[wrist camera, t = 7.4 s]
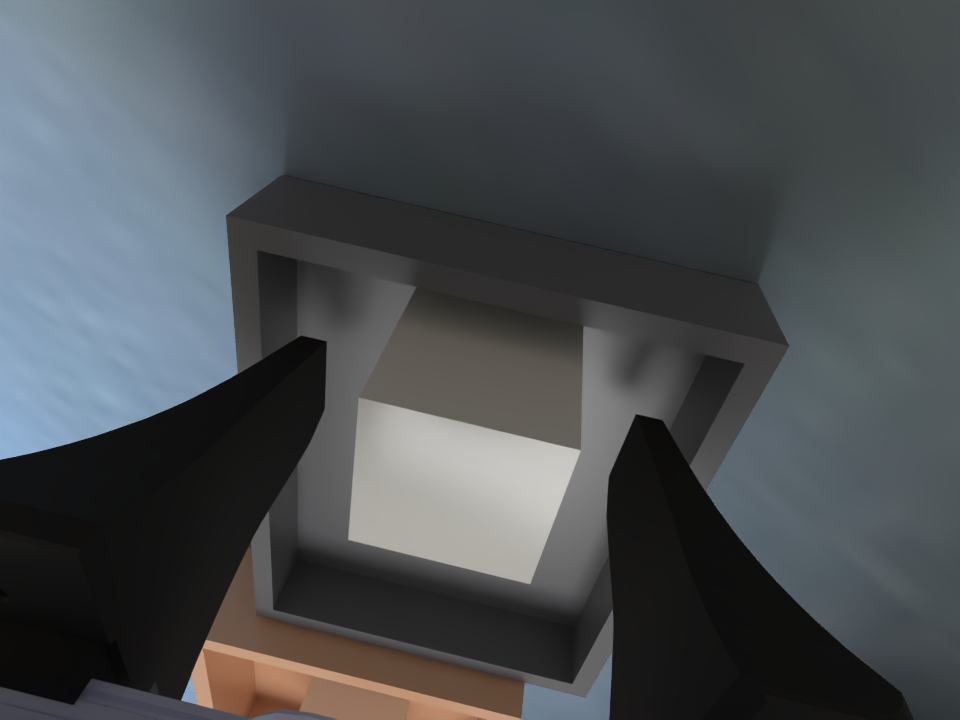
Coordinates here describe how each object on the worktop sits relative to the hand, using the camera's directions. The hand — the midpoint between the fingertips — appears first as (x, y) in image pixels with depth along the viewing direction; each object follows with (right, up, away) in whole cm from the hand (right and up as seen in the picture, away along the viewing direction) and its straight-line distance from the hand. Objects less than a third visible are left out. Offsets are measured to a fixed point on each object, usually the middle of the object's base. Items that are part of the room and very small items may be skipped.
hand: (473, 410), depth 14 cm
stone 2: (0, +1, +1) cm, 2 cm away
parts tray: (0, -1, +4) cm, 4 cm away
